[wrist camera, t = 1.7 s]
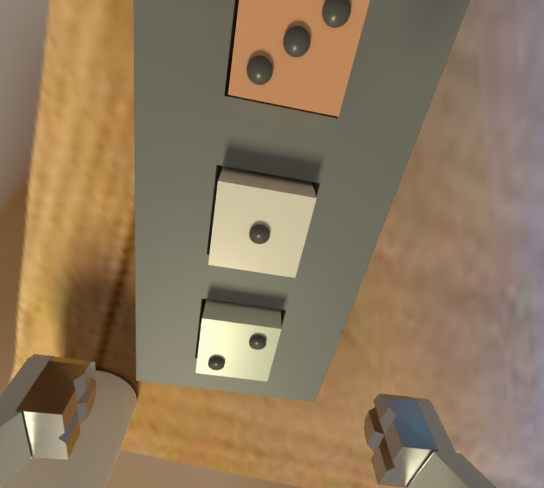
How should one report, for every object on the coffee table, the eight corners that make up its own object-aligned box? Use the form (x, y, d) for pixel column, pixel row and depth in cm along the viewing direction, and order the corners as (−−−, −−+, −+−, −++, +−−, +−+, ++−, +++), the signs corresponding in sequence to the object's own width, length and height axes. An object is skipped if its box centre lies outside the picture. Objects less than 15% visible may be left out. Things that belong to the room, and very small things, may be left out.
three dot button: (358, -9, 16) (376, -20, 13) (328, 106, 18) (339, 117, 16) (249, -35, 16) (244, -52, 13) (233, 87, 18) (227, 95, 15)
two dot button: (280, 298, 25) (281, 331, 22) (267, 349, 27) (267, 384, 24) (209, 288, 24) (201, 320, 22) (202, 340, 27) (195, 375, 24)
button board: (468, -75, 16) (507, -98, 13) (311, 371, 31) (315, 401, 28) (156, -157, 15) (132, -200, 12) (147, 350, 29) (136, 380, 27)
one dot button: (310, 178, 20) (317, 199, 18) (292, 251, 23) (295, 279, 20) (224, 162, 20) (217, 182, 17) (215, 238, 22) (207, 266, 20)
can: (136, 418, 34) (77, 585, 23) (66, 408, 33) (-28, 576, 23) (141, 373, 31) (75, 543, 20) (63, 361, 30) (-47, 531, 19)
